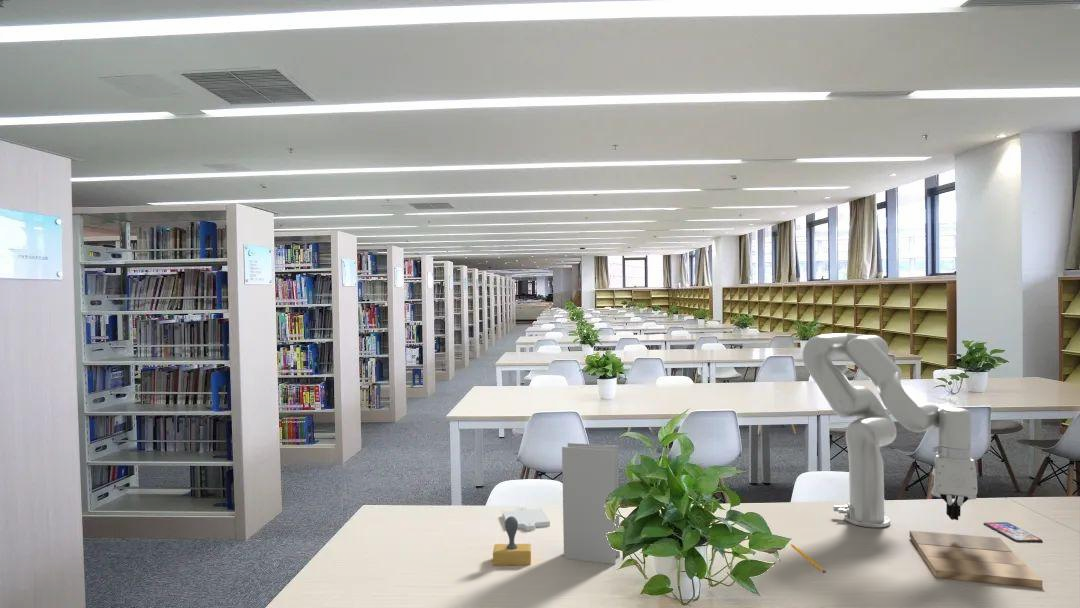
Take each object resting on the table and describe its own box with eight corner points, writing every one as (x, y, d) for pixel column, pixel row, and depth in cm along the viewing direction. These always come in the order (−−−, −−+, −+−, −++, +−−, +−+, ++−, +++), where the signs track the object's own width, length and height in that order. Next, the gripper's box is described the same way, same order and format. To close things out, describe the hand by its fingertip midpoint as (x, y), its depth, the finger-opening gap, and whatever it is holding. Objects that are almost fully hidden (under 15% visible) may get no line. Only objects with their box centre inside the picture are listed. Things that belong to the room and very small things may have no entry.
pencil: (823, 573, 163) (823, 571, 163) (789, 545, 182) (789, 543, 182) (826, 573, 163) (826, 571, 163) (792, 545, 182) (792, 542, 182)
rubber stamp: (493, 566, 171) (492, 520, 171) (494, 557, 177) (493, 513, 177) (530, 565, 171) (529, 519, 171) (531, 556, 177) (530, 512, 177)
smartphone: (1015, 540, 181) (982, 522, 196) (1016, 543, 181) (982, 525, 196) (1044, 540, 180) (1008, 522, 195) (1044, 543, 180) (1008, 525, 195)
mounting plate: (501, 514, 213) (501, 509, 213) (540, 511, 216) (540, 506, 216) (509, 534, 195) (509, 527, 195) (551, 530, 198) (551, 524, 198)
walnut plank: (917, 549, 176) (917, 543, 176) (909, 536, 185) (909, 530, 185) (1012, 558, 170) (1012, 551, 170) (999, 544, 178) (999, 537, 178)
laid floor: (935, 577, 159) (935, 570, 159) (917, 550, 176) (917, 544, 176) (1042, 588, 152) (1042, 580, 152) (1013, 559, 169) (1012, 552, 169)
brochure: (620, 556, 176) (618, 445, 175) (615, 564, 170) (613, 450, 170) (569, 550, 180) (567, 442, 180) (563, 558, 175) (562, 447, 175)
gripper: (927, 453, 178) (926, 520, 179) (990, 458, 174) (989, 526, 174) (920, 447, 185) (919, 511, 186) (981, 451, 181) (979, 516, 181)
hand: (953, 518), depth 180 cm, fingers closed
